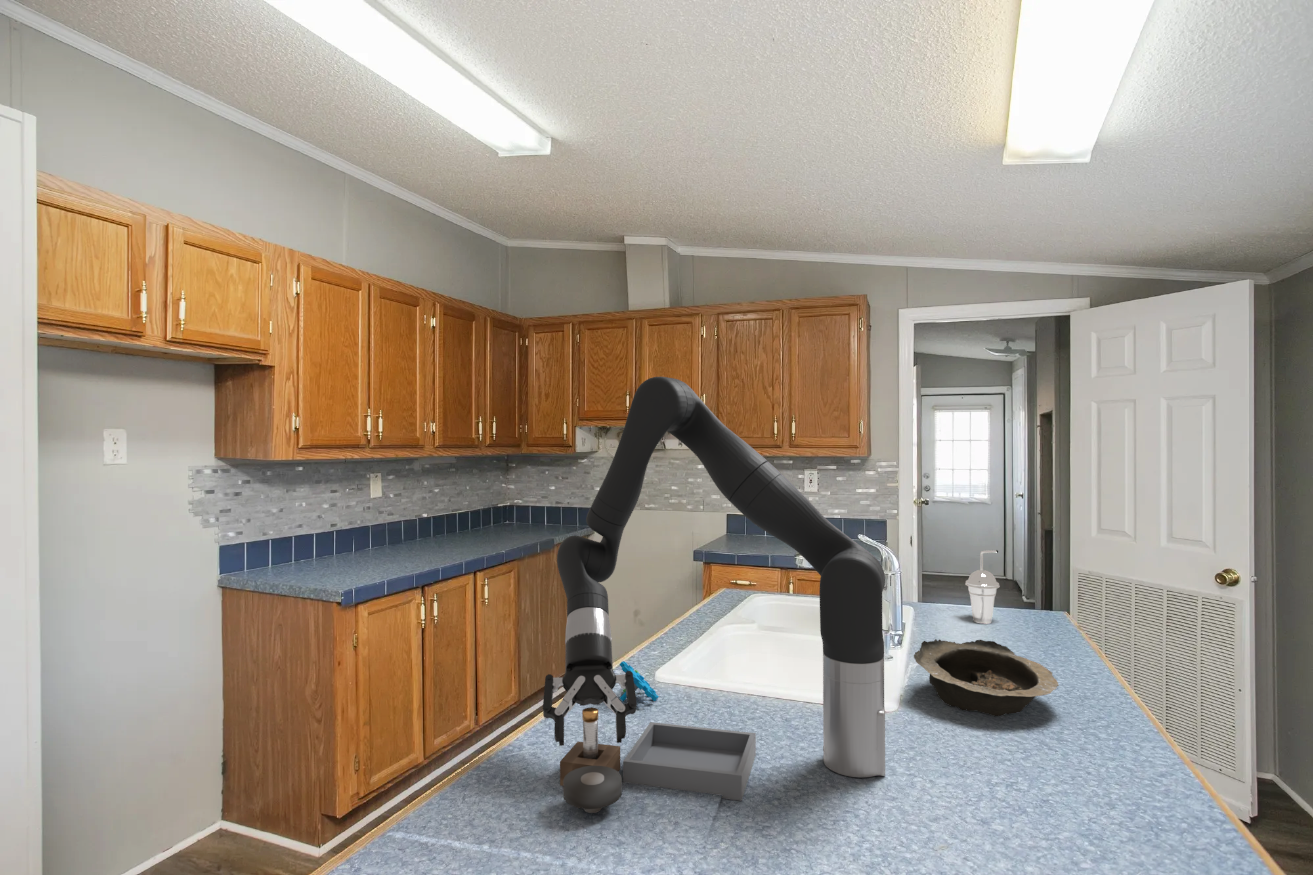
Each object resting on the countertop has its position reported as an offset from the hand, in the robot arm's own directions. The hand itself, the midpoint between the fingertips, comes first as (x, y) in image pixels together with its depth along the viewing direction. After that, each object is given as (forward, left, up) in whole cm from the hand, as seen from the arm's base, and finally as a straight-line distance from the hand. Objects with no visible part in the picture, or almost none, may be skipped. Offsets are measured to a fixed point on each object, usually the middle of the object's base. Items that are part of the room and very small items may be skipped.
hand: (590, 742), depth 107 cm
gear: (+3, -34, -7) cm, 35 cm away
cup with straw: (-71, -109, -6) cm, 130 cm away
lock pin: (0, -1, -6) cm, 6 cm away
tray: (-14, -8, -6) cm, 17 cm away
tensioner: (-2, +3, -6) cm, 7 cm away
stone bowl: (-61, -49, -7) cm, 79 cm away
